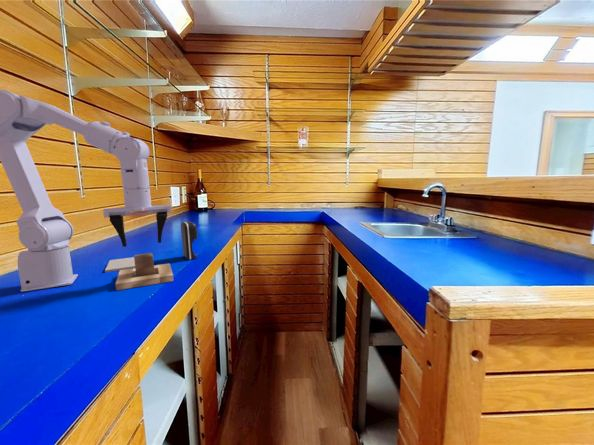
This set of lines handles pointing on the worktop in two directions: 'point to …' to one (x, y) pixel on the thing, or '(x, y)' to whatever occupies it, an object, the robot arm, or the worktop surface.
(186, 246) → the coffee machine
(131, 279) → the wooden board
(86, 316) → the worktop surface
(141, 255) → the block
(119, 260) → the mat
